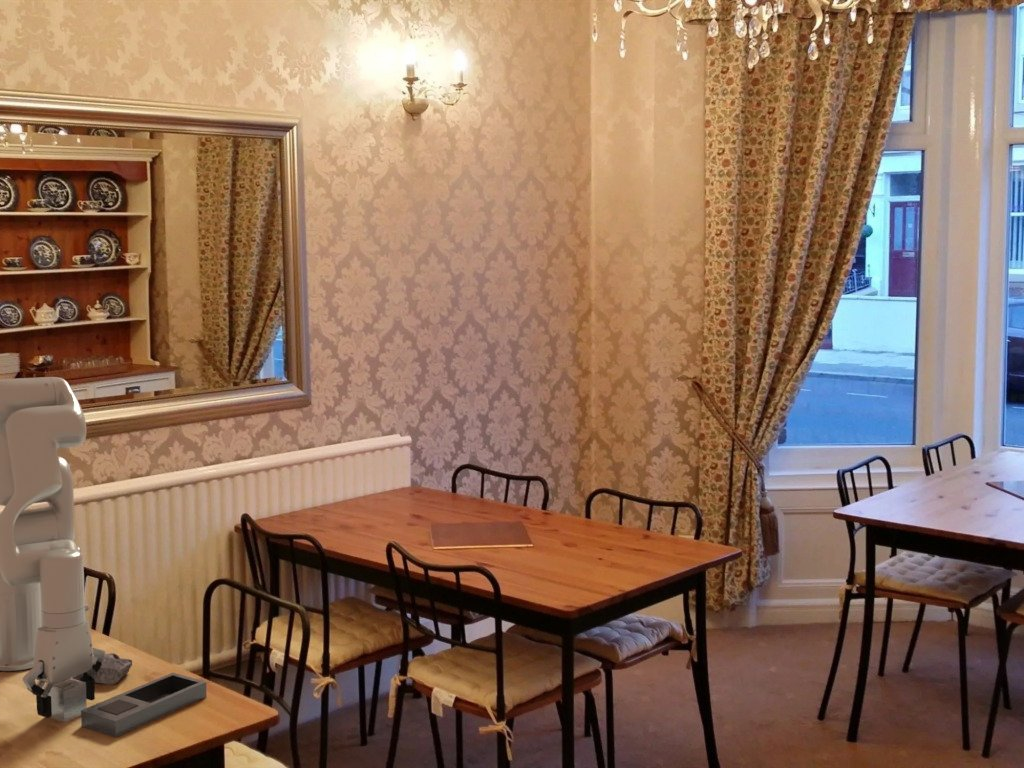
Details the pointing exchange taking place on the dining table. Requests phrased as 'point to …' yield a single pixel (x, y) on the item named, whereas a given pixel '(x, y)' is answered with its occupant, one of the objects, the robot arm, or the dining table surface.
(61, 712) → the gray cube
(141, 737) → the dining table surface
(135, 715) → the grey tray with recess
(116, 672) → the rock
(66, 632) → the robot arm
